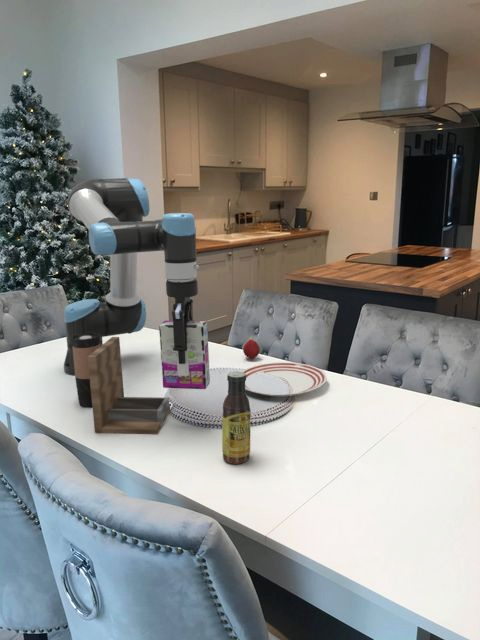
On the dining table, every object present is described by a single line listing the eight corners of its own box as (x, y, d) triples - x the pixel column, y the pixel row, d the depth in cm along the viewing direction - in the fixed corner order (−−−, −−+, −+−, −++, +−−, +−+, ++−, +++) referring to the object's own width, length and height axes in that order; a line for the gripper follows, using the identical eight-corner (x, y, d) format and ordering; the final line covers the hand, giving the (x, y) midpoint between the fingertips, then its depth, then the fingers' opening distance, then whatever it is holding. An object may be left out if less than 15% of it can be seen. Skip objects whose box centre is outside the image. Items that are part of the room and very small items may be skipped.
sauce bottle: (230, 468, 114) (227, 381, 109) (217, 455, 119) (214, 372, 114) (256, 460, 116) (255, 375, 112) (243, 449, 122) (241, 367, 117)
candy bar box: (210, 382, 134) (208, 320, 130) (206, 390, 129) (203, 325, 125) (168, 380, 136) (164, 319, 131) (162, 388, 131) (158, 324, 127)
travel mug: (98, 409, 147) (91, 340, 142) (73, 407, 148) (65, 339, 143) (110, 398, 154) (104, 332, 149) (86, 397, 155) (79, 331, 151)
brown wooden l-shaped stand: (117, 404, 149) (112, 336, 145) (173, 405, 148) (169, 337, 143) (94, 432, 132) (87, 356, 127) (157, 434, 130) (152, 357, 126)
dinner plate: (282, 411, 143) (282, 400, 142) (218, 385, 163) (218, 375, 162) (345, 386, 160) (345, 375, 159) (280, 365, 180) (280, 356, 179)
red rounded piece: (262, 358, 187) (262, 337, 185) (254, 363, 183) (254, 341, 181) (248, 356, 190) (248, 335, 188) (240, 360, 186) (239, 338, 184)
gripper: (189, 286, 116) (194, 384, 122) (203, 273, 134) (206, 359, 140) (156, 286, 117) (162, 384, 123) (174, 273, 135) (178, 359, 140)
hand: (185, 371), depth 131 cm, fingers closed on candy bar box, 5 cm apart
